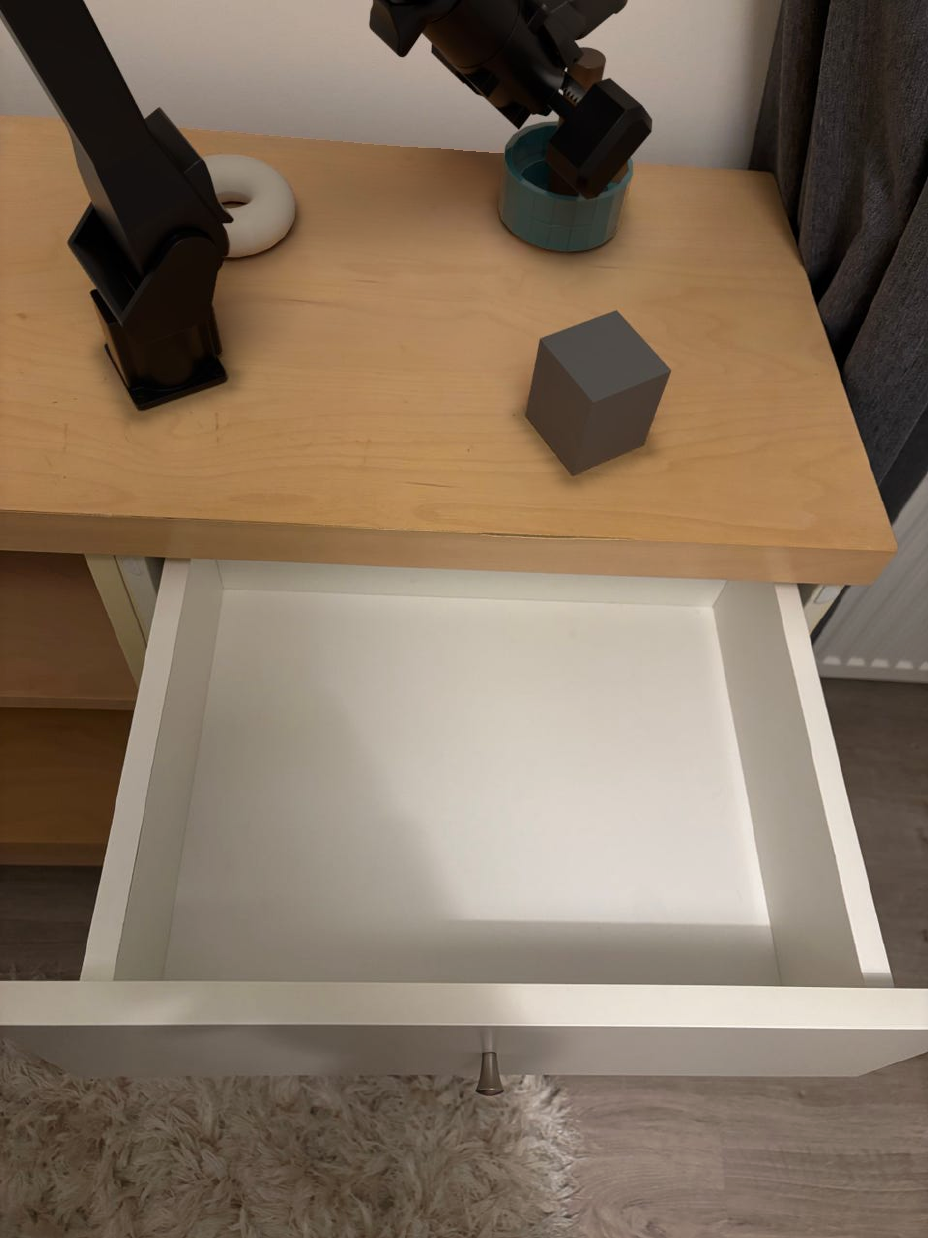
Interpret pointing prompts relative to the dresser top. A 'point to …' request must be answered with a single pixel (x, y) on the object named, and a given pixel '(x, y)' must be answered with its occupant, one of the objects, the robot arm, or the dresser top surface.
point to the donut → (252, 201)
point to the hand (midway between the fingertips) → (585, 141)
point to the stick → (586, 75)
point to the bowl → (553, 198)
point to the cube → (595, 391)
